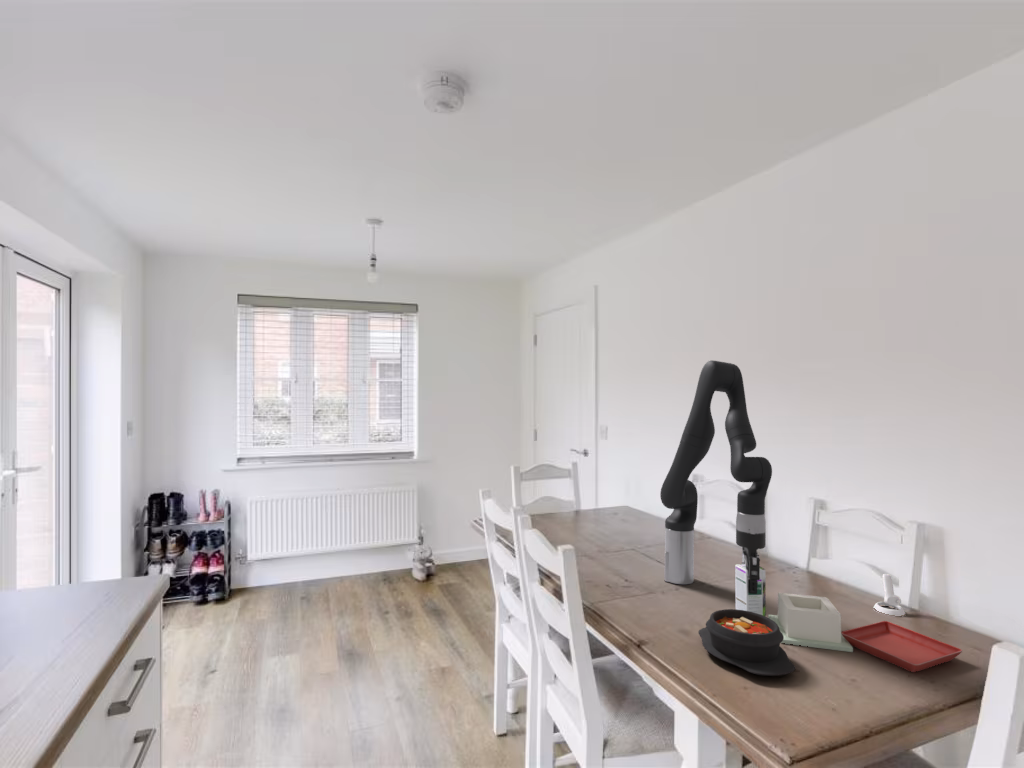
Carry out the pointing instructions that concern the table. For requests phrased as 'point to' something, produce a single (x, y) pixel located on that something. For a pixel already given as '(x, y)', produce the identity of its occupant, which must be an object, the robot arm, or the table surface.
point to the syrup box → (743, 597)
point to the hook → (889, 599)
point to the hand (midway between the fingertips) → (750, 588)
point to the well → (810, 622)
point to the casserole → (746, 642)
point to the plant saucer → (900, 645)
